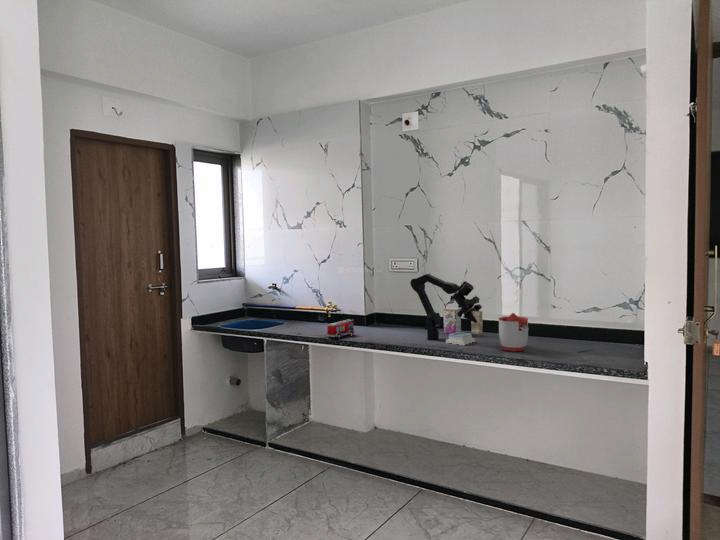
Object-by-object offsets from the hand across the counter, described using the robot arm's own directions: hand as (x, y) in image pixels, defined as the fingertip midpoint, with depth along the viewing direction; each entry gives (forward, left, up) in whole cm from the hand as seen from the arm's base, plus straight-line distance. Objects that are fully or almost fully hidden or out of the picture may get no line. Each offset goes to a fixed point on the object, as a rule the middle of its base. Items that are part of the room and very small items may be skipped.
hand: (478, 322), depth 312 cm
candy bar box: (-8, +36, -13) cm, 39 cm away
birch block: (-1, +1, -7) cm, 7 cm away
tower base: (-9, +9, -13) cm, 18 cm away
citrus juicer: (+15, -16, -13) cm, 26 cm away
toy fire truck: (-78, +43, -14) cm, 90 cm away
